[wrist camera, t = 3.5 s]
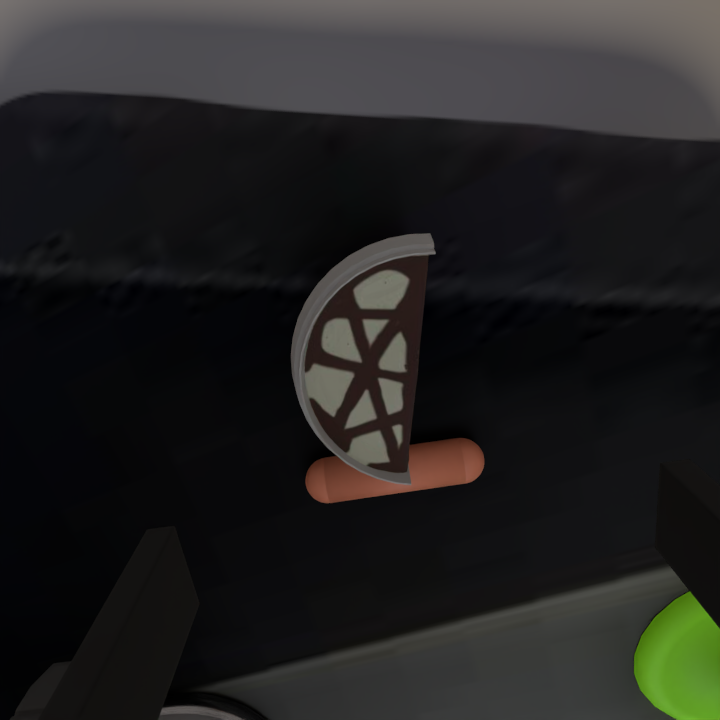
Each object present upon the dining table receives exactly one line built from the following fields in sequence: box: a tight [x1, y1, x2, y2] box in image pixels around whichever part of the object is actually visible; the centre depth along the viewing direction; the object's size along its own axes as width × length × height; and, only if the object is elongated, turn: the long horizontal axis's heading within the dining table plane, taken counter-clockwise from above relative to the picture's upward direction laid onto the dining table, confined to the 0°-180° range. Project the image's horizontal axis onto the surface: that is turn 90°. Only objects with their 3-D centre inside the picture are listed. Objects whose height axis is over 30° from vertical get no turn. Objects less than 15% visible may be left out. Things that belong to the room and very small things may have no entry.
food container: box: [291, 234, 436, 485], centre depth 28 cm, size 12×6×10 cm, turn 177°
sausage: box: [306, 438, 484, 503], centre depth 35 cm, size 12×3×3 cm, turn 99°
